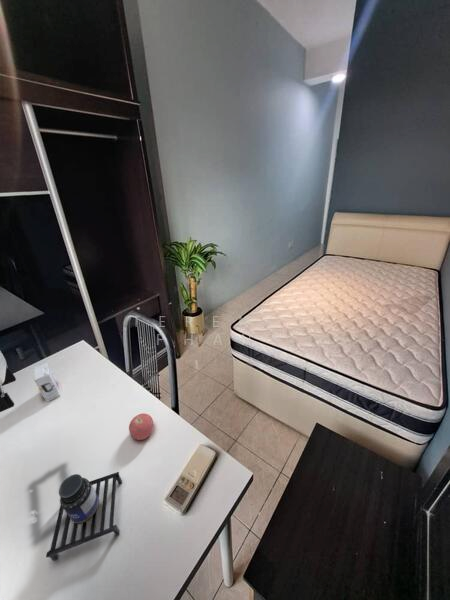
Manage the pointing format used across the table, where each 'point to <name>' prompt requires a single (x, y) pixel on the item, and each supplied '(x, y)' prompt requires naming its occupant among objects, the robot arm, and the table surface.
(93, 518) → the wire rack
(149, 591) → the table surface
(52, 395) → the ink box
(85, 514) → the pill bottle
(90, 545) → the table surface
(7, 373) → the robot arm
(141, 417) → the apple
